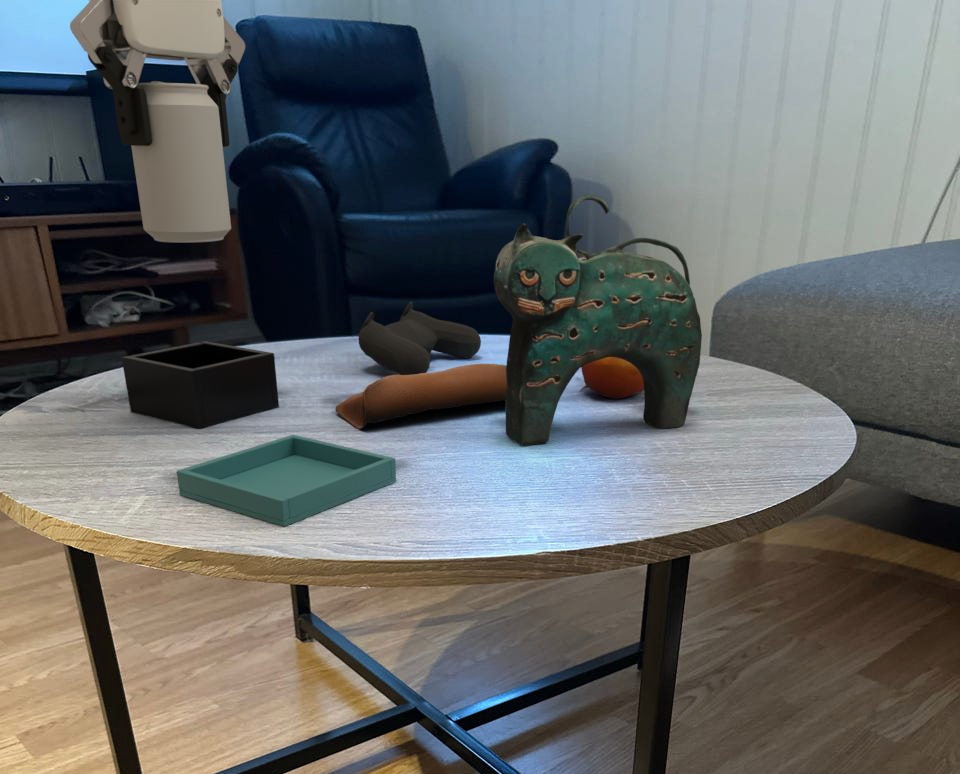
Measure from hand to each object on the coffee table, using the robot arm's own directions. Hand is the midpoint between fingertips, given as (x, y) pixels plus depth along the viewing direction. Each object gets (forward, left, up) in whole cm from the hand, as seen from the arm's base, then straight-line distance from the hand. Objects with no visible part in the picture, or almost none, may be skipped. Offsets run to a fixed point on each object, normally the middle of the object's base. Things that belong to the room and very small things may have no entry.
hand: (177, 144), depth 79 cm
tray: (-10, -21, -23) cm, 33 cm away
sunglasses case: (+15, -15, -24) cm, 32 cm away
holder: (+2, +3, -23) cm, 24 cm away
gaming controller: (+31, -1, -24) cm, 39 cm away
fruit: (+32, -27, -24) cm, 48 cm away
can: (0, 0, -8) cm, 8 cm away
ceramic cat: (+18, -32, -24) cm, 43 cm away
